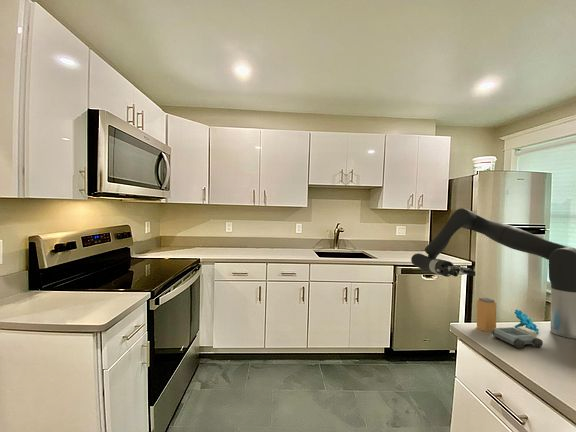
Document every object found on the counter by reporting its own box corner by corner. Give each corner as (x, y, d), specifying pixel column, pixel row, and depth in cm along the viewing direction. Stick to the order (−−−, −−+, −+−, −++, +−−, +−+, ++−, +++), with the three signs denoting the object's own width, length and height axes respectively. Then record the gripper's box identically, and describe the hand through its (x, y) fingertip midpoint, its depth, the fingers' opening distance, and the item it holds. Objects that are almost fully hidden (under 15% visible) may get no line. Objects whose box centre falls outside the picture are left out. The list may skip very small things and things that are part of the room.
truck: (517, 335, 111) (517, 324, 111) (543, 347, 101) (543, 334, 101) (491, 337, 109) (491, 325, 109) (515, 349, 99) (515, 336, 99)
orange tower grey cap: (476, 327, 119) (477, 297, 119) (486, 326, 119) (487, 297, 119) (485, 331, 114) (486, 301, 114) (495, 331, 115) (496, 300, 115)
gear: (535, 333, 109) (513, 308, 116) (520, 340, 112) (500, 316, 119) (544, 331, 115) (524, 308, 122) (531, 338, 119) (511, 315, 125)
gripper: (428, 259, 143) (451, 265, 127) (454, 259, 145) (480, 265, 129) (427, 275, 143) (451, 283, 127) (454, 274, 145) (480, 282, 129)
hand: (465, 274), depth 128 cm, fingers open, 8 cm apart
